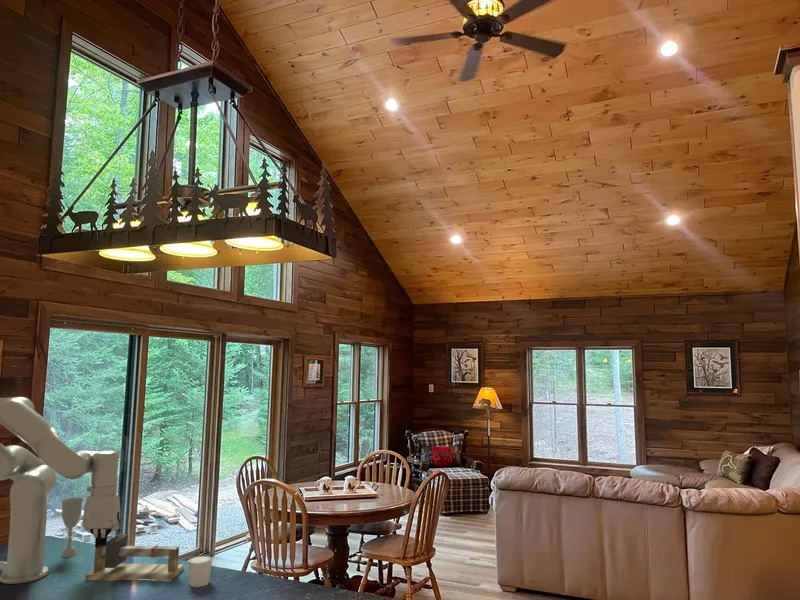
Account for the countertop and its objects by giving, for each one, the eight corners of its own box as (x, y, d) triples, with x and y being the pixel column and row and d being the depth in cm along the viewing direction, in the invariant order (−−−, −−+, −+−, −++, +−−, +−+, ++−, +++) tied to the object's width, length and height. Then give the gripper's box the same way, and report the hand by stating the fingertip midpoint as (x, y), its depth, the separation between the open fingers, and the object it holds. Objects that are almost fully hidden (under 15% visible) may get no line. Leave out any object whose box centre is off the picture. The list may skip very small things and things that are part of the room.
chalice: (63, 551, 199) (67, 497, 201) (83, 550, 200) (87, 497, 201) (52, 558, 192) (56, 503, 193) (74, 557, 192) (78, 502, 194)
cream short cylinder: (203, 588, 168) (204, 564, 169) (182, 586, 170) (183, 562, 170) (215, 580, 175) (216, 556, 176) (195, 578, 176) (196, 554, 177)
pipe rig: (85, 580, 174) (87, 551, 174) (102, 568, 184) (104, 540, 184) (170, 581, 173) (172, 552, 174) (183, 569, 183) (184, 542, 184)
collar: (104, 567, 175) (106, 542, 176) (117, 559, 183) (118, 534, 183) (114, 568, 175) (116, 542, 176) (126, 559, 183) (127, 534, 183)
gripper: (73, 493, 181) (70, 553, 179) (121, 493, 181) (118, 553, 179) (86, 487, 188) (83, 545, 186) (132, 487, 188) (129, 545, 186)
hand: (100, 549), depth 182 cm, fingers closed
